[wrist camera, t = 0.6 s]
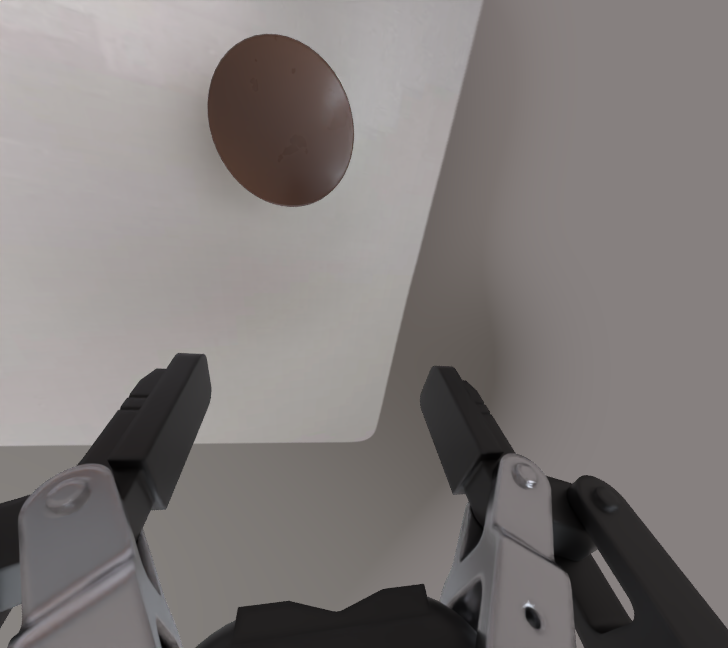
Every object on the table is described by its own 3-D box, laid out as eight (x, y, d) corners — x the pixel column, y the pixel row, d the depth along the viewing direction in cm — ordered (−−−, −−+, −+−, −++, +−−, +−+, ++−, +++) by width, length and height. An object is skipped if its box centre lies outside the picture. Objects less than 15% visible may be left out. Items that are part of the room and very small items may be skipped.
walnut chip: (280, 10, 12) (272, -18, 10) (372, 139, 15) (381, 139, 13) (197, 126, 13) (175, 124, 11) (295, 221, 16) (292, 233, 14)
